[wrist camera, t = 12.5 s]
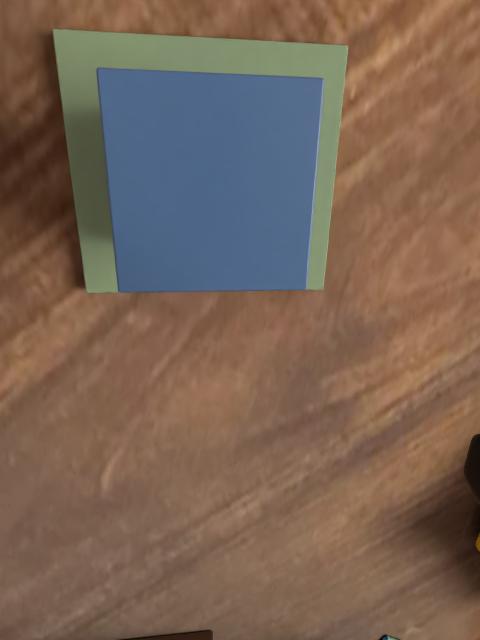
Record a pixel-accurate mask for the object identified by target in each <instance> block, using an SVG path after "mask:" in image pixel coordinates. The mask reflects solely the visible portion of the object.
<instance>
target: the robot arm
mask: <svg viewBox="0 0 480 640" xmlns="http://www.w3.org/2000/svg"><path fill="white" fill-rule="evenodd" d="M464 475H465V478H466V481H467V483H468V485H469V486H470V488H471V490H472V492H473V494H474V495H475V497H476V499H477V501H478V503H479V505H480V434H476V435H475V436H474V437H473V438H472V440H471V443H470V446H469V450H468V454H467V458H466V461H465V465H464Z"/></svg>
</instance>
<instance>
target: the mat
mask: <svg viewBox="0 0 480 640" xmlns="http://www.w3.org/2000/svg"><path fill="white" fill-rule="evenodd" d="M52 33H53V40H54V48H55V56H56V64H57V71H58V79H59V87H60V94H61V102H62V110H63V118H64V125H65V133H66V141H67V148H68V156H69V164H70V172H71V179H72V187H73V195H74V202H75V210H76V218H77V226H78V233H79V241H80V249H81V257H82V264H83V272H84V280H85V287H86V292H87V293H109V292H119V291H118V286H117V276H116V266H115V255H114V245H113V235H112V225H111V215H110V205H109V195H108V185H107V175H106V165H105V155H104V145H103V134H102V124H101V114H100V104H99V94H98V84H97V74H96V70H97V68H120V69H142V70H164V71H186V72H208V73H231V74H253V75H275V76H297V77H319V78H323V79H324V93H323V105H322V116H321V128H320V140H319V151H318V163H317V175H316V187H315V198H314V210H313V222H312V234H311V245H310V257H309V269H308V280H307V288H306V289H305V290H322V289H323V287H324V278H325V268H326V258H327V248H328V239H329V229H330V219H331V209H332V200H333V190H334V180H335V170H336V160H337V151H338V141H339V131H340V121H341V112H342V102H343V92H344V82H345V72H346V63H347V53H348V46H347V45H333V44H315V43H297V42H279V41H261V40H243V39H225V38H208V37H190V36H172V35H154V34H136V33H118V32H100V31H82V30H65V29H53V30H52Z"/></svg>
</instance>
